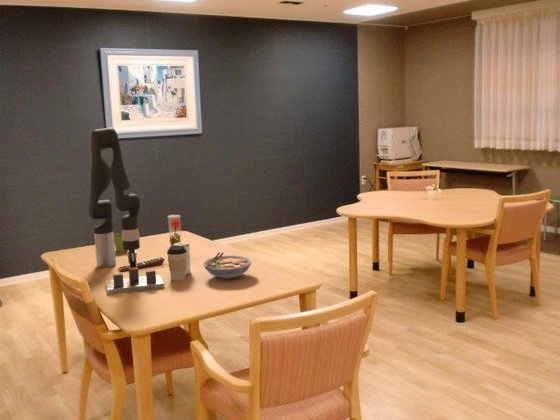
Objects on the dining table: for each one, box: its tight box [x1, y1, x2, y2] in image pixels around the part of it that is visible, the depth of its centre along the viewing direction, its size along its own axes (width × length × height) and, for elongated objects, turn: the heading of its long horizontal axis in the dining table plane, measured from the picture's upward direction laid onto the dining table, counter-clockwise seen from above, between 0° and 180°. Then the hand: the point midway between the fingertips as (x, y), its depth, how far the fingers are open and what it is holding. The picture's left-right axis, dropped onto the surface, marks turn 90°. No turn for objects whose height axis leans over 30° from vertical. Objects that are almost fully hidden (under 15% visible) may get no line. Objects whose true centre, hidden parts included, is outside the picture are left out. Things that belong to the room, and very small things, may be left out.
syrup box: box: [172, 241, 192, 275], centre depth 280 cm, size 6×6×14 cm
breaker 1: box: [112, 272, 124, 287], centre depth 258 cm, size 2×4×5 cm, turn 108°
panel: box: [106, 274, 165, 296], centre depth 263 cm, size 14×24×2 cm, turn 108°
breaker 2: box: [145, 269, 157, 283], centre depth 262 cm, size 2×4×5 cm, turn 108°
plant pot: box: [113, 233, 126, 253], centre depth 327 cm, size 9×9×9 cm
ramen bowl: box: [202, 252, 253, 280], centre depth 273 cm, size 25×23×8 cm
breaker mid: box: [128, 266, 140, 281], centre depth 265 cm, size 2×4×6 cm, turn 108°
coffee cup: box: [166, 245, 187, 281], centre depth 273 cm, size 9×9×15 cm
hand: (133, 275), depth 270 cm, fingers closed
